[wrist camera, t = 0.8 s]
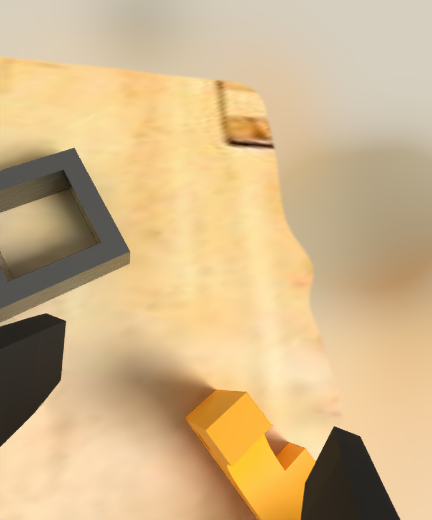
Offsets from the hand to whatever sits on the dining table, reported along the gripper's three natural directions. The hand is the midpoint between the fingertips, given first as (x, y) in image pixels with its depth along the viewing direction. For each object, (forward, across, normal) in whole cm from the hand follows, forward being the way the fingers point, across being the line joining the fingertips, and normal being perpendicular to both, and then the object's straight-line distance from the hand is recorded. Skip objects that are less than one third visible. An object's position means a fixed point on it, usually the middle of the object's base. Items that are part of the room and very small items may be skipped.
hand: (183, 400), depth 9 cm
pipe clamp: (+10, -5, +13) cm, 17 cm away
